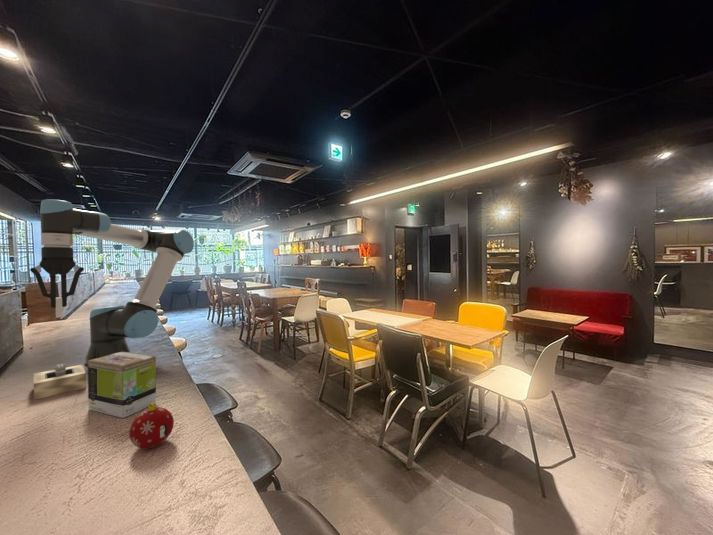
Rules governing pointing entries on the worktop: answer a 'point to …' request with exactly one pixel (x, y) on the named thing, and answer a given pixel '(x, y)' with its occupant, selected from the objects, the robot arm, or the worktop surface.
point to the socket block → (59, 382)
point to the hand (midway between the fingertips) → (59, 316)
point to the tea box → (121, 383)
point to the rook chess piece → (60, 369)
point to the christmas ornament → (151, 427)
